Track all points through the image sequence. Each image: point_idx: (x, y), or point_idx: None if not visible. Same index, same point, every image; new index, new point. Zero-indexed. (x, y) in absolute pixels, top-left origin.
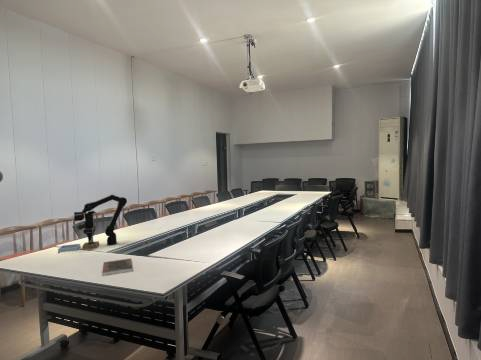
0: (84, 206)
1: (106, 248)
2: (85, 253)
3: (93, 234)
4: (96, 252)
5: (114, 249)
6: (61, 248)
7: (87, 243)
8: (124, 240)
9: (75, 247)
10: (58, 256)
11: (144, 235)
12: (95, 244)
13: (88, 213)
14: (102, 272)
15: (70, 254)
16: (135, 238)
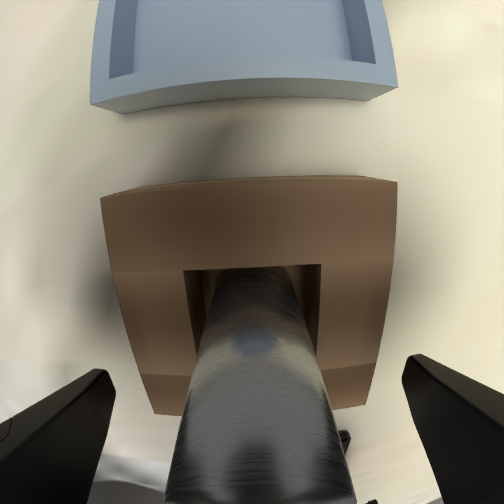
0: None
1: (157, 434)
2: (5, 267)
3: (429, 461)
4: (33, 362)
5: (115, 463)
6: None
7: (281, 256)
8: (395, 475)
9: (93, 73)
10: (8, 15)
11: (429, 497)
12: (150, 396)
13: None
14: None
15: (10, 98)
16: (397, 497)
